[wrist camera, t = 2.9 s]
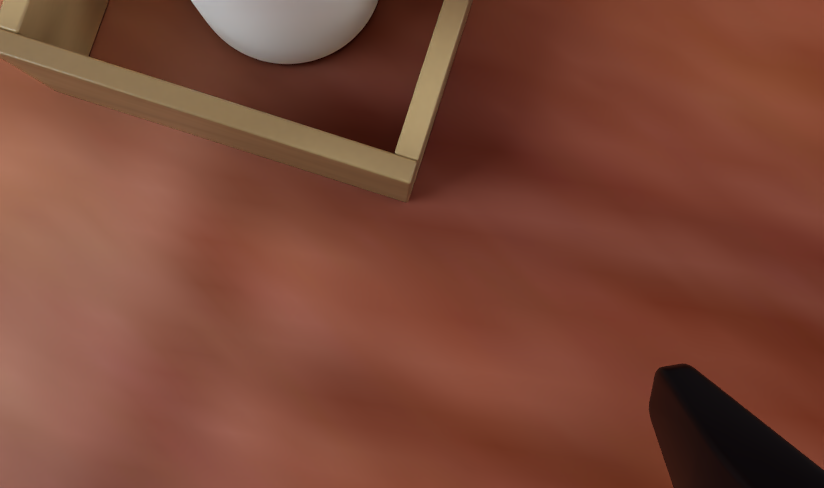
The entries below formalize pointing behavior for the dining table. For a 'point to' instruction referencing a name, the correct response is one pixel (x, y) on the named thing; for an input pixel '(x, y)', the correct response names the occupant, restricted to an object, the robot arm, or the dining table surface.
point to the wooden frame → (217, 118)
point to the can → (286, 26)
